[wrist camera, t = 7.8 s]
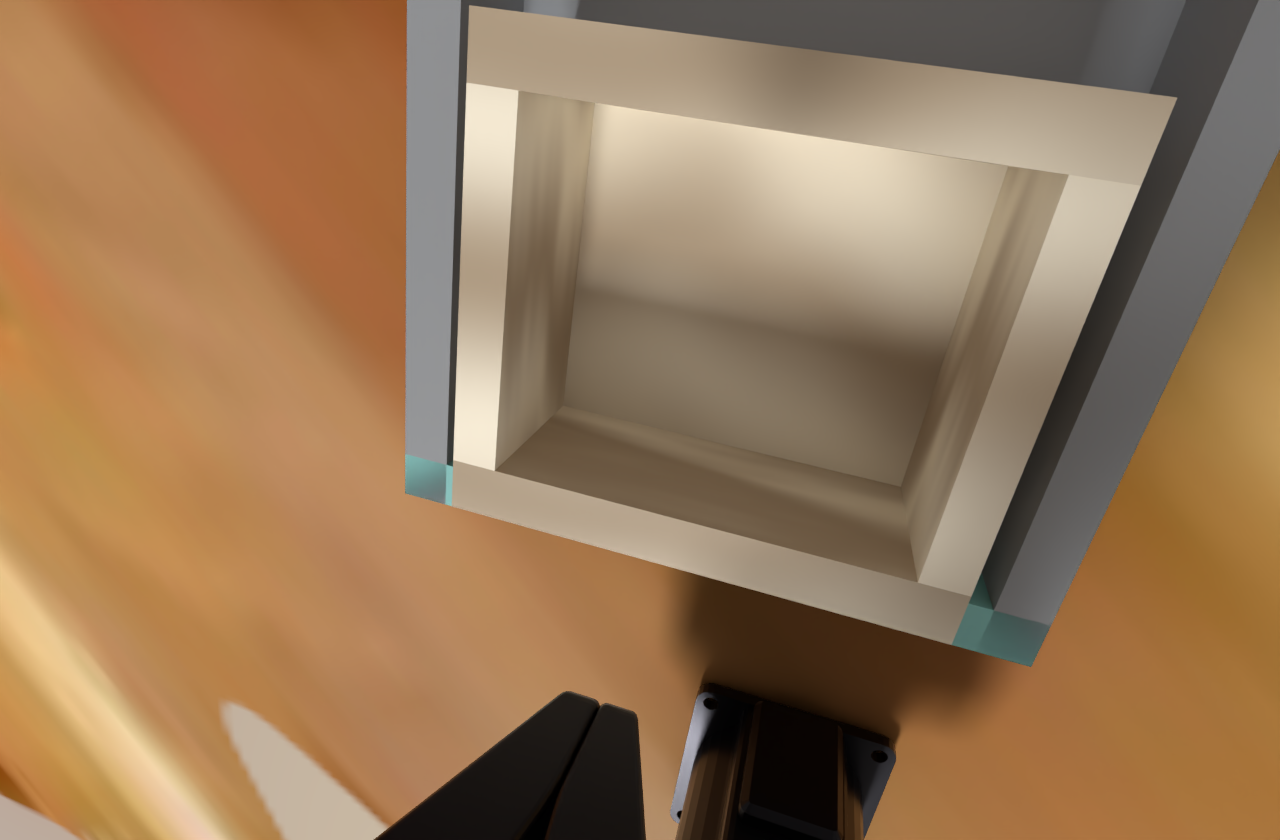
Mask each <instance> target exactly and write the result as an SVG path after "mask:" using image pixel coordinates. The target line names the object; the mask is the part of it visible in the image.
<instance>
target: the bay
mask: <svg viewBox="0 0 1280 840" xmlns="http://www.w3.org/2000/svg"><path fill="white" fill-rule="evenodd" d="M469 5H472V6H479V7H487V8H495V9H502V10H510V11H518V12H525V13H533V14H541V15H548V16H556V17H564V18H571V19H579V20H587V21H594V22H602V23H610V24H617V25H625V26H633V27H640V28H648V29H656V30H663V31H671V32H679V33H686V34H694V35H702V36H709V37H717V38H725V39H732V40H740V41H748V42H755V43H763V44H771V45H778V46H786V47H794V48H802V49H809V50H817V51H825V52H832V53H840V54H848V55H855V56H863V57H871V58H878V59H886V60H894V61H901V62H909V63H917V64H924V65H932V66H940V67H947V68H955V69H963V70H970V71H978V72H986V73H993V74H1001V75H1009V76H1016V77H1024V78H1032V79H1039V80H1047V81H1055V82H1062V83H1070V84H1078V85H1085V86H1093V87H1101V88H1108V89H1116V90H1124V91H1131V92H1139V93H1147V94H1154V95H1162V96H1170V97H1177V100H1176V102H1175V105H1174V107H1173V110H1172V112H1171V114H1170V117H1169V119H1168V122H1167V124H1166V127H1165V129H1164V131H1163V134H1162V136H1161V139H1160V141H1159V144H1158V146H1157V148H1156V151H1155V153H1154V156H1153V158H1152V160H1151V163H1150V165H1149V168H1148V170H1147V173H1146V175H1145V177H1144V180H1143V182H1142V185H1141V187H1140V190H1139V192H1138V194H1137V197H1136V199H1135V202H1134V204H1133V207H1132V209H1131V211H1130V214H1129V216H1128V219H1127V221H1126V223H1125V226H1124V228H1123V231H1122V233H1121V236H1120V238H1119V240H1118V243H1117V245H1116V248H1115V250H1114V253H1113V255H1112V257H1111V260H1110V262H1109V265H1108V267H1107V269H1106V272H1105V274H1104V277H1103V279H1102V282H1101V284H1100V286H1099V289H1098V291H1097V294H1096V296H1095V299H1094V301H1093V303H1092V306H1091V308H1090V311H1089V313H1088V315H1087V318H1086V320H1085V323H1084V325H1083V328H1082V330H1081V332H1080V335H1079V337H1078V340H1077V342H1076V345H1075V347H1074V349H1073V352H1072V354H1071V357H1070V359H1069V361H1068V364H1067V366H1066V369H1065V371H1064V374H1063V376H1062V378H1061V381H1060V383H1059V386H1058V388H1057V391H1056V393H1055V395H1054V398H1053V400H1052V403H1051V405H1050V408H1049V410H1048V412H1047V415H1046V417H1045V420H1044V422H1043V424H1042V427H1041V429H1040V432H1039V434H1038V437H1037V439H1036V441H1035V444H1034V446H1033V449H1032V451H1031V454H1030V456H1029V458H1028V461H1027V463H1026V466H1025V468H1024V470H1023V473H1022V475H1021V478H1020V480H1019V483H1018V485H1017V487H1016V490H1015V492H1014V495H1013V497H1012V500H1011V502H1010V504H1009V507H1008V509H1007V512H1006V514H1005V516H1004V519H1003V521H1002V524H1001V526H1000V529H999V531H998V533H997V536H996V538H995V541H994V543H993V546H992V548H991V550H990V553H989V555H988V558H987V560H986V562H985V565H984V567H983V570H982V572H981V575H980V577H979V579H978V582H977V584H976V587H975V589H974V592H973V594H972V596H971V599H970V601H969V604H968V606H967V608H966V611H965V613H964V616H963V618H962V621H961V623H960V625H959V628H958V630H957V633H956V635H955V638H954V640H953V642H952V645H954V646H958V647H961V648H965V649H968V650H972V651H976V652H979V653H983V654H986V655H990V656H994V657H997V658H1001V659H1004V660H1008V661H1012V662H1015V663H1019V664H1022V665H1026V666H1030V667H1031V666H1032V664H1033V662H1034V660H1035V658H1036V656H1037V653H1038V651H1039V649H1040V647H1041V645H1042V643H1043V641H1044V639H1045V637H1046V635H1047V633H1048V631H1049V628H1050V626H1051V624H1052V622H1053V620H1054V618H1055V616H1056V614H1057V612H1058V610H1059V608H1060V606H1061V604H1062V601H1063V599H1064V597H1065V595H1066V593H1067V591H1068V589H1069V587H1070V585H1071V583H1072V581H1073V579H1074V576H1075V574H1076V572H1077V570H1078V568H1079V566H1080V564H1081V562H1082V560H1083V558H1084V556H1085V554H1086V551H1087V549H1088V547H1089V545H1090V543H1091V541H1092V539H1093V537H1094V535H1095V533H1096V531H1097V529H1098V527H1099V524H1100V522H1101V520H1102V518H1103V516H1104V514H1105V512H1106V510H1107V508H1108V506H1109V504H1110V502H1111V499H1112V497H1113V495H1114V493H1115V491H1116V489H1117V487H1118V485H1119V483H1120V481H1121V479H1122V477H1123V474H1124V472H1125V470H1126V468H1127V466H1128V464H1129V462H1130V460H1131V458H1132V456H1133V454H1134V452H1135V449H1136V447H1137V445H1138V443H1139V441H1140V439H1141V437H1142V435H1143V433H1144V431H1145V429H1146V427H1147V425H1148V422H1149V420H1150V418H1151V416H1152V414H1153V412H1154V410H1155V408H1156V406H1157V404H1158V402H1159V400H1160V397H1161V395H1162V393H1163V391H1164V389H1165V387H1166V385H1167V383H1168V381H1169V379H1170V377H1171V375H1172V372H1173V370H1174V368H1175V366H1176V364H1177V362H1178V360H1179V358H1180V356H1181V354H1182V352H1183V350H1184V348H1185V345H1186V343H1187V341H1188V339H1189V337H1190V335H1191V333H1192V331H1193V329H1194V327H1195V325H1196V323H1197V320H1198V318H1199V316H1200V314H1201V312H1202V310H1203V308H1204V306H1205V304H1206V302H1207V300H1208V298H1209V295H1210V293H1211V291H1212V289H1213V287H1214V285H1215V283H1216V281H1217V279H1218V277H1219V275H1220V273H1221V271H1222V268H1223V266H1224V264H1225V262H1226V260H1227V258H1228V256H1229V254H1230V252H1231V250H1232V248H1233V246H1234V243H1235V241H1236V239H1237V237H1238V235H1239V233H1240V231H1241V229H1242V227H1243V225H1244V223H1245V221H1246V218H1247V216H1248V214H1249V212H1250V210H1251V208H1252V206H1253V204H1254V202H1255V200H1256V198H1257V196H1258V193H1259V191H1260V189H1261V187H1262V185H1263V183H1264V181H1265V179H1266V177H1267V175H1268V173H1269V171H1270V169H1271V166H1272V164H1273V162H1274V160H1275V158H1276V156H1277V154H1278V152H1279V150H1280V0H407V166H406V446H405V493H406V494H410V495H414V496H417V497H421V498H424V499H428V500H432V501H435V502H439V503H442V504H446V505H450V506H452V482H453V454H454V425H455V397H456V368H457V340H458V311H459V283H460V254H461V225H462V197H463V168H464V140H465V111H466V83H467V54H468V26H469Z"/></svg>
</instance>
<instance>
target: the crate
mask: <svg viewBox="0 0 1280 840" xmlns="http://www.w3.org/2000/svg"><path fill="white" fill-rule="evenodd" d="M1176 100H1177V97H1170V96H1162V95H1154V94H1147V93H1139V92H1131V91H1124V90H1116V89H1108V88H1101V87H1093V86H1085V85H1078V84H1070V83H1062V82H1055V81H1047V80H1039V79H1032V78H1024V77H1016V76H1009V75H1001V74H993V73H986V72H978V71H970V70H963V69H955V68H947V67H940V66H932V65H924V64H917V63H909V62H901V61H894V60H886V59H878V58H871V57H863V56H855V55H848V54H840V53H832V52H825V51H817V50H809V49H802V48H794V47H786V46H778V45H771V44H763V43H755V42H748V41H740V40H732V39H725V38H717V37H709V36H702V35H694V34H686V33H679V32H671V31H663V30H656V29H648V28H640V27H633V26H625V25H617V24H610V23H602V22H594V21H587V20H579V19H571V18H564V17H556V16H548V15H541V14H533V13H525V12H518V11H510V10H502V9H495V8H487V7H479V6H472V5H469V26H468V54H467V83H466V111H465V140H464V168H463V197H462V225H461V254H460V283H459V311H458V340H457V368H456V397H455V425H454V454H453V482H452V507H456V508H460V509H463V510H467V511H470V512H474V513H478V514H481V515H485V516H488V517H492V518H496V519H499V520H503V521H506V522H510V523H514V524H517V525H521V526H524V527H528V528H532V529H535V530H539V531H542V532H546V533H550V534H553V535H557V536H560V537H564V538H568V539H571V540H575V541H578V542H582V543H586V544H589V545H593V546H596V547H600V548H604V549H607V550H611V551H614V552H618V553H622V554H625V555H629V556H632V557H636V558H640V559H643V560H647V561H650V562H654V563H658V564H661V565H665V566H668V567H672V568H676V569H679V570H683V571H686V572H690V573H694V574H697V575H701V576H704V577H708V578H712V579H715V580H719V581H722V582H726V583H730V584H733V585H737V586H740V587H744V588H748V589H751V590H755V591H759V592H762V593H766V594H769V595H773V596H777V597H780V598H784V599H787V600H791V601H795V602H798V603H802V604H805V605H809V606H813V607H816V608H820V609H823V610H827V611H831V612H834V613H838V614H841V615H845V616H849V617H852V618H856V619H859V620H863V621H867V622H870V623H874V624H877V625H881V626H885V627H888V628H892V629H895V630H899V631H903V632H906V633H910V634H913V635H917V636H921V637H924V638H928V639H931V640H935V641H939V642H942V643H946V644H949V645H952V642H953V640H954V638H955V635H956V633H957V630H958V628H959V625H960V623H961V621H962V618H963V616H964V613H965V611H966V608H967V606H968V604H969V601H970V599H971V596H972V594H973V592H974V589H975V587H976V584H977V582H978V579H979V577H980V575H981V572H982V570H983V567H984V565H985V562H986V560H987V558H988V555H989V553H990V550H991V548H992V546H993V543H994V541H995V538H996V536H997V533H998V531H999V529H1000V526H1001V524H1002V521H1003V519H1004V516H1005V514H1006V512H1007V509H1008V507H1009V504H1010V502H1011V500H1012V497H1013V495H1014V492H1015V490H1016V487H1017V485H1018V483H1019V480H1020V478H1021V475H1022V473H1023V470H1024V468H1025V466H1026V463H1027V461H1028V458H1029V456H1030V454H1031V451H1032V449H1033V446H1034V444H1035V441H1036V439H1037V437H1038V434H1039V432H1040V429H1041V427H1042V424H1043V422H1044V420H1045V417H1046V415H1047V412H1048V410H1049V408H1050V405H1051V403H1052V400H1053V398H1054V395H1055V393H1056V391H1057V388H1058V386H1059V383H1060V381H1061V378H1062V376H1063V374H1064V371H1065V369H1066V366H1067V364H1068V361H1069V359H1070V357H1071V354H1072V352H1073V349H1074V347H1075V345H1076V342H1077V340H1078V337H1079V335H1080V332H1081V330H1082V328H1083V325H1084V323H1085V320H1086V318H1087V315H1088V313H1089V311H1090V308H1091V306H1092V303H1093V301H1094V299H1095V296H1096V294H1097V291H1098V289H1099V286H1100V284H1101V282H1102V279H1103V277H1104V274H1105V272H1106V269H1107V267H1108V265H1109V262H1110V260H1111V257H1112V255H1113V253H1114V250H1115V248H1116V245H1117V243H1118V240H1119V238H1120V236H1121V233H1122V231H1123V228H1124V226H1125V223H1126V221H1127V219H1128V216H1129V214H1130V211H1131V209H1132V207H1133V204H1134V202H1135V199H1136V197H1137V194H1138V192H1139V190H1140V187H1141V185H1142V182H1143V180H1144V177H1145V175H1146V173H1147V170H1148V168H1149V165H1150V163H1151V160H1152V158H1153V156H1154V153H1155V151H1156V148H1157V146H1158V144H1159V141H1160V139H1161V136H1162V134H1163V131H1164V129H1165V127H1166V124H1167V122H1168V119H1169V117H1170V114H1171V112H1172V110H1173V107H1174V105H1175V102H1176Z"/></svg>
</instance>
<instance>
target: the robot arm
mask: <svg viewBox="0 0 1280 840" xmlns="http://www.w3.org/2000/svg"><path fill="white" fill-rule="evenodd" d="M707 698H713V699H715V700H716V701H710V700H708V699H707ZM876 750H880V751H883V752H882V753H877V752H875V751H876ZM895 762H896V751H895V746H894V743H893V742H892V741H891V740H890V739H889V738H887V737H885V736H883V735H880V734H877V733H873V732H870V731H867V730H863V729H860V728H857V727H854V726H850V725H847V724H844V723H841V722H837V721H834V720H831V719H828V718H824V717H821V716H818V715H814V714H811V713H808V712H805V711H801V710H798V709H795V708H792V707H788V706H785V705H782V704H778V703H775V702H772V701H769V700H765V699H762V698H759V697H756V696H752V695H749V694H746V693H743V692H739V691H736V690H733V689H729V688H726V687H723V686H720V685H716V684H711V683H709V684H704V685H703V686H701V687H700V689H699V691H698V694H697V698H696V702H695V707H694V711H693V715H692V720H691V724H690V728H689V733H688V737H687V741H686V746H685V750H684V754H683V759H682V763H681V767H680V772H679V776H678V780H677V784H676V789H675V793H674V797H673V802H672V806H671V810H670V815H671V817H672V819H673V820H674V821H675V822H677V823H679V826H678V830H677V835H676V839H675V840H864V838H865V835H866V833H867V830H868V828H869V826H870V823H871V821H872V818H873V816H874V813H875V811H876V808H877V806H878V803H879V801H880V798H881V796H882V794H883V791H884V789H885V786H886V784H887V781H888V779H889V776H890V774H891V771H892V769H893V767H894V764H895ZM374 840H646V834H645V819H644V804H643V789H642V774H641V759H640V744H639V729H638V718H637V715H636V714H635V712H633V711H630V710H627V709H624V708H621V707H618V706H615V705H612V704H609V703H604V704H602V705H601V706H600V705H599V703H598V701H597V700H595V699H593V698H590V697H587V696H584V695H581V694H577V693H574V692H571V691H566V692H563V693H561V694H560V695H558V696H557V697H556V698H555V699H553V700H552V701H551V702H549V703H548V704H547V705H546V706H544V707H543V708H542V709H540V710H539V711H538V712H537V713H535V714H534V715H533V716H532V717H530V718H529V719H528V720H526V721H525V722H524V723H523V724H521V725H520V726H519V727H517V728H516V729H515V730H514V731H512V732H511V733H510V734H508V735H507V736H506V737H505V738H503V739H502V740H501V741H500V742H498V743H497V744H496V745H494V746H493V747H492V748H491V749H489V750H488V751H487V752H485V753H484V754H483V755H482V756H480V757H479V758H478V759H476V760H475V761H474V762H473V763H471V764H470V765H469V766H468V767H466V768H465V769H464V770H462V771H461V772H460V773H459V774H457V775H456V776H455V777H453V778H452V779H451V780H450V781H448V782H447V783H446V784H444V785H443V786H442V787H441V788H439V789H438V790H437V791H436V792H434V793H433V794H432V795H430V796H429V797H428V798H427V799H425V800H424V801H423V802H421V803H420V804H419V805H418V806H416V807H415V808H414V809H412V810H411V811H410V812H409V813H407V814H406V815H405V816H403V817H402V818H401V819H400V820H398V821H397V822H396V823H395V824H393V825H392V826H391V827H389V828H388V829H387V830H386V831H384V832H383V833H382V834H381V835H379V836H378V837H377V838H375V839H374Z"/></svg>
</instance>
